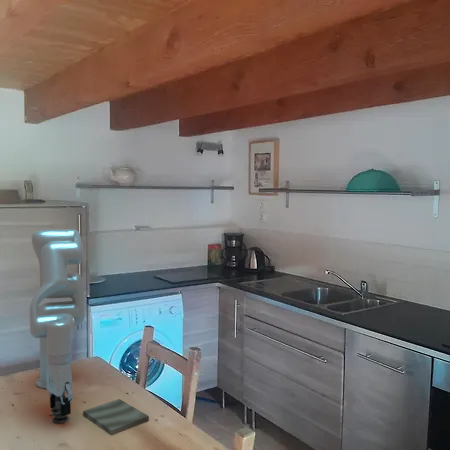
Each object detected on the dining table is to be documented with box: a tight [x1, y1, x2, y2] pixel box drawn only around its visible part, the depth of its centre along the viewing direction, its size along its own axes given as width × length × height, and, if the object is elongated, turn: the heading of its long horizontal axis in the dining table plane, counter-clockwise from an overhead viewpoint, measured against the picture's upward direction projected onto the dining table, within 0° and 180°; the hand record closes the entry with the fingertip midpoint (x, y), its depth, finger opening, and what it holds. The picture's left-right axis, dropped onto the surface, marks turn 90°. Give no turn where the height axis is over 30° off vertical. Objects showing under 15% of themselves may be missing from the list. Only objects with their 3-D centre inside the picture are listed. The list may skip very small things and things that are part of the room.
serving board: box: [82, 398, 150, 436], centre depth 165 cm, size 18×14×2 cm
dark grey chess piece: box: [50, 391, 70, 425], centre depth 163 cm, size 6×6×12 cm
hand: (60, 410), depth 163 cm, fingers open, 6 cm apart
